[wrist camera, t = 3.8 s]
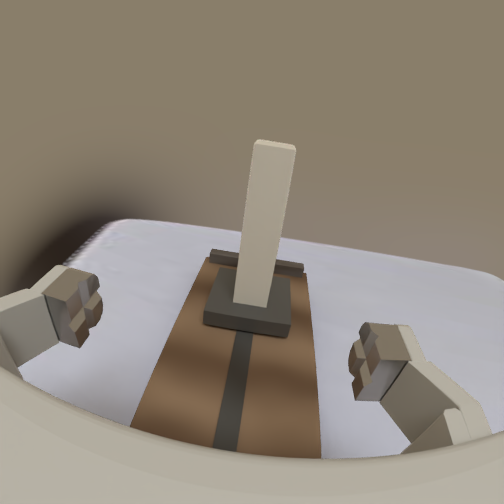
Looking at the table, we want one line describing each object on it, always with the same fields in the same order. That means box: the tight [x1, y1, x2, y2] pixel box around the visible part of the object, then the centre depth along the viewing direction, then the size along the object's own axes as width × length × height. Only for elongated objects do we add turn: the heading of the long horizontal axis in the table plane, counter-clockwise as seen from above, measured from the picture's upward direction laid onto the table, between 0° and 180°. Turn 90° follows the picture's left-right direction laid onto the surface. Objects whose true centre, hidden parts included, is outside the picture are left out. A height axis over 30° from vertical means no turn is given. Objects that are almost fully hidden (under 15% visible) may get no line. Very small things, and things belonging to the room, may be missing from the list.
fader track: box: [130, 249, 321, 459], centre depth 17 cm, size 28×10×3 cm, turn 174°
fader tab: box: [203, 139, 296, 338], centre depth 20 cm, size 6×6×12 cm
